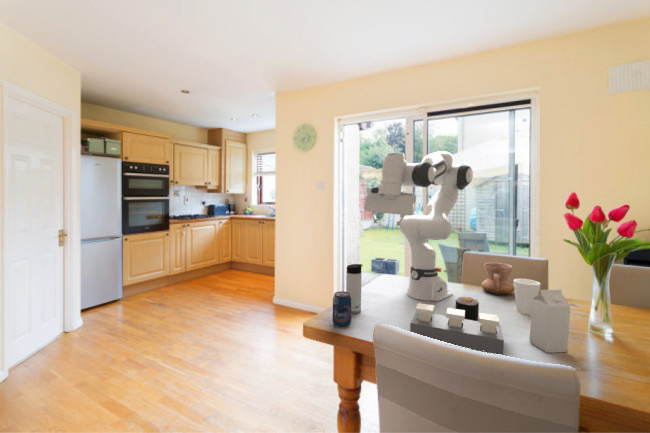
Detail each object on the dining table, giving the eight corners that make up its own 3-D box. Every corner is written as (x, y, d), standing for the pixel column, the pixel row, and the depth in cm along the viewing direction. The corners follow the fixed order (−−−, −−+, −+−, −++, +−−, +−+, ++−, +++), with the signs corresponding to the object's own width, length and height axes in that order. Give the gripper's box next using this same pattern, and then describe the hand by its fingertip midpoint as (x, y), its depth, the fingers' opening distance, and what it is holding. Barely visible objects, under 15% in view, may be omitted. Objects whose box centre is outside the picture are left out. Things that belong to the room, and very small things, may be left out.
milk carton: (529, 342, 103) (532, 286, 101) (549, 341, 103) (552, 286, 102) (546, 353, 96) (549, 293, 94) (567, 352, 96) (571, 293, 95)
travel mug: (361, 314, 126) (361, 266, 124) (345, 313, 127) (345, 265, 125) (362, 309, 132) (363, 263, 130) (347, 307, 133) (347, 262, 132)
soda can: (334, 329, 112) (334, 297, 111) (331, 321, 118) (331, 291, 118) (353, 328, 113) (353, 296, 112) (348, 320, 119) (349, 290, 119)
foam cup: (512, 306, 136) (513, 277, 135) (537, 310, 132) (539, 280, 131) (512, 313, 128) (514, 282, 127) (539, 317, 123) (541, 286, 122)
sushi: (480, 318, 123) (481, 298, 122) (473, 324, 117) (473, 303, 116) (460, 312, 128) (460, 294, 128) (451, 318, 123) (452, 298, 122)
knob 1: (415, 322, 108) (415, 308, 108) (418, 317, 113) (418, 303, 113) (432, 325, 106) (432, 310, 105) (434, 320, 111) (434, 305, 110)
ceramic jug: (484, 285, 167) (484, 260, 166) (515, 290, 159) (516, 263, 157) (477, 294, 153) (478, 266, 152) (511, 300, 144) (512, 271, 143)
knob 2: (478, 334, 99) (479, 318, 99) (478, 327, 105) (479, 312, 104) (498, 338, 97) (499, 321, 97) (497, 331, 102) (498, 315, 102)
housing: (409, 336, 106) (410, 322, 106) (415, 323, 117) (416, 311, 117) (503, 355, 94) (504, 340, 94) (500, 339, 105) (500, 325, 104)
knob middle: (445, 328, 104) (446, 313, 103) (447, 322, 109) (447, 307, 108) (463, 331, 101) (464, 316, 101) (464, 325, 106) (465, 310, 106)
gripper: (417, 193, 126) (413, 227, 126) (368, 190, 133) (365, 221, 134) (416, 192, 120) (411, 227, 120) (365, 188, 127) (361, 221, 128)
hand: (386, 224), depth 127 cm, fingers open, 8 cm apart
